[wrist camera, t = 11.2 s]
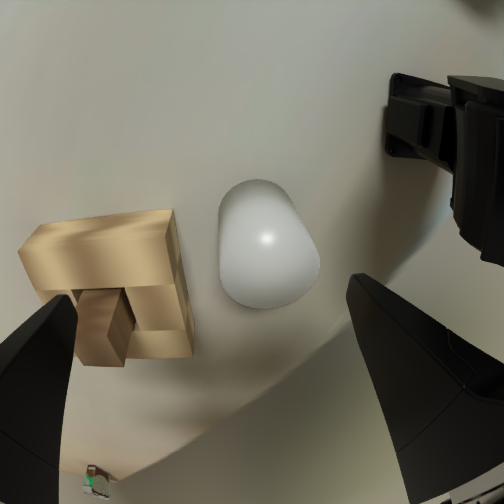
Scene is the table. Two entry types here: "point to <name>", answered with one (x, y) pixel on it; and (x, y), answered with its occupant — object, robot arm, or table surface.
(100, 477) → the food container
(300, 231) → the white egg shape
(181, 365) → the table surface
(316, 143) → the table surface
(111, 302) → the square peg
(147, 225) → the socket block
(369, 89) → the table surface
